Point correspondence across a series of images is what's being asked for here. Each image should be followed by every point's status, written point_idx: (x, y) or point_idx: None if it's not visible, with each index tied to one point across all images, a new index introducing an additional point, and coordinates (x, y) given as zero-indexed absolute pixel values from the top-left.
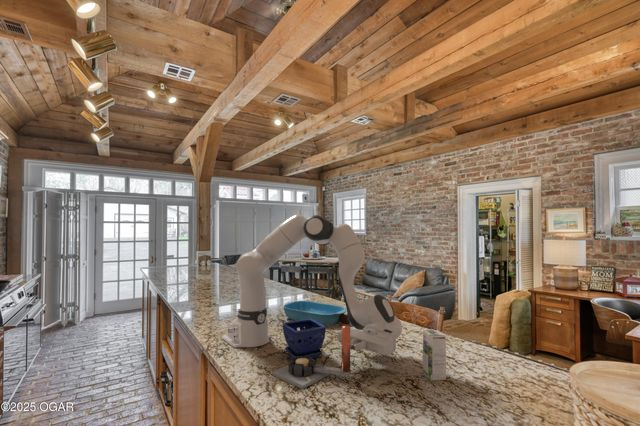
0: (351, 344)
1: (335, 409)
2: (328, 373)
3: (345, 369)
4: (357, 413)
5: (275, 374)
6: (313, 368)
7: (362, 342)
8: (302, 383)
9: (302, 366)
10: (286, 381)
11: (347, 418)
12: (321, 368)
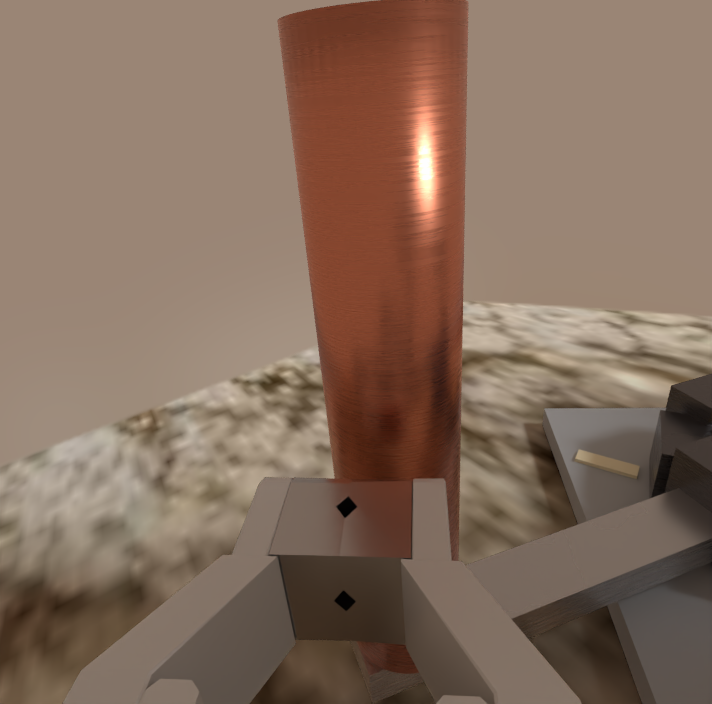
0: (373, 479)
1: (277, 406)
2: (634, 660)
3: None
4: (168, 432)
5: None
6: (669, 483)
7: (143, 660)
8: (569, 419)
9: (682, 396)
10: None
11: (203, 396)
12: (621, 513)
